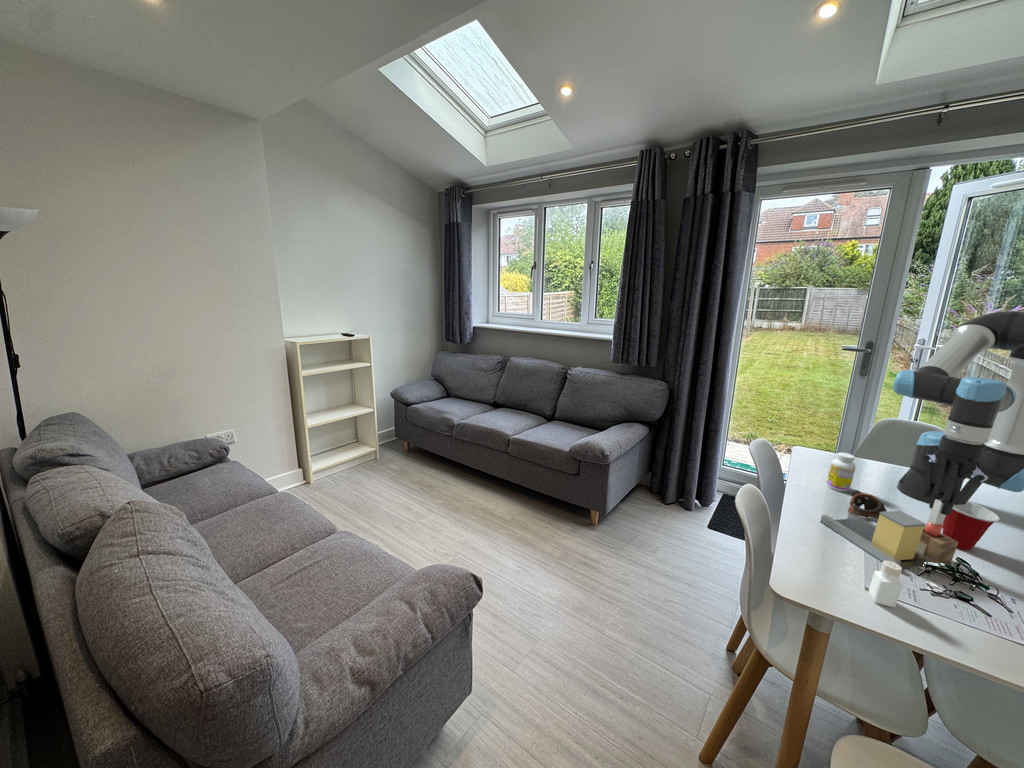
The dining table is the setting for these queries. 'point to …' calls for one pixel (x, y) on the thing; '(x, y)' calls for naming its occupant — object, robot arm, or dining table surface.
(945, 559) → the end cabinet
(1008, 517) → the dining table surface
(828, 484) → the supplement bottle
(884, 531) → the carriage
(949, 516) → the plastic cup
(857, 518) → the track
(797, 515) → the dining table surface
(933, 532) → the ball
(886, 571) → the white pill bottle
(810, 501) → the dining table surface
